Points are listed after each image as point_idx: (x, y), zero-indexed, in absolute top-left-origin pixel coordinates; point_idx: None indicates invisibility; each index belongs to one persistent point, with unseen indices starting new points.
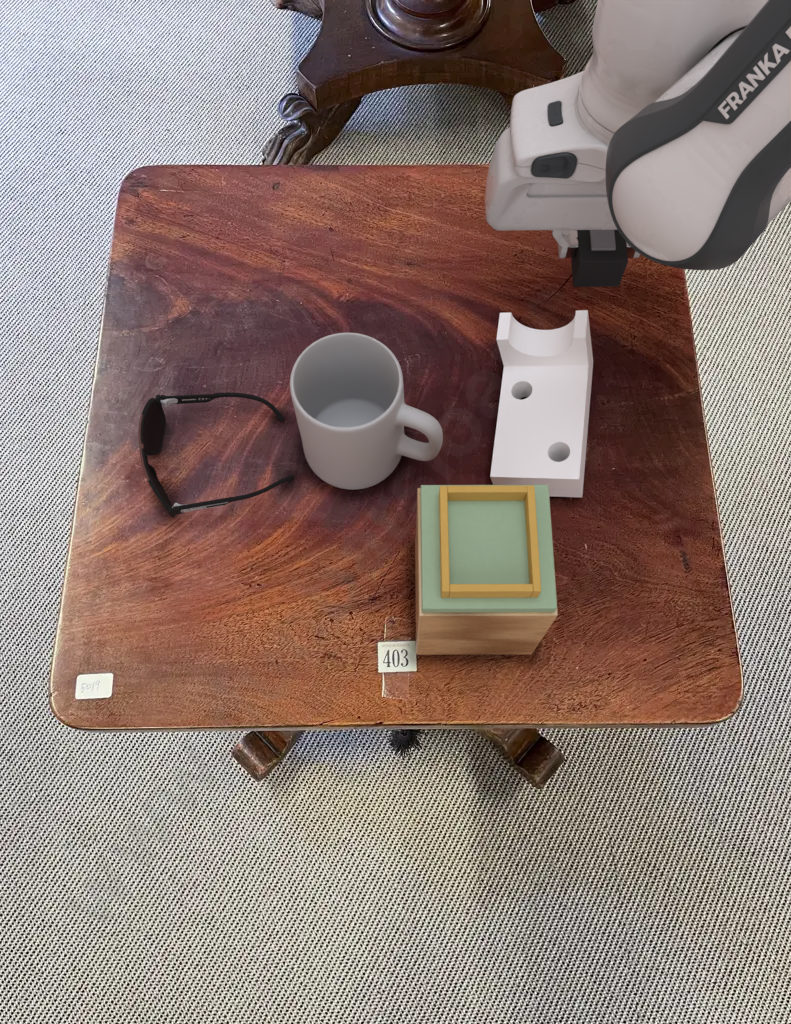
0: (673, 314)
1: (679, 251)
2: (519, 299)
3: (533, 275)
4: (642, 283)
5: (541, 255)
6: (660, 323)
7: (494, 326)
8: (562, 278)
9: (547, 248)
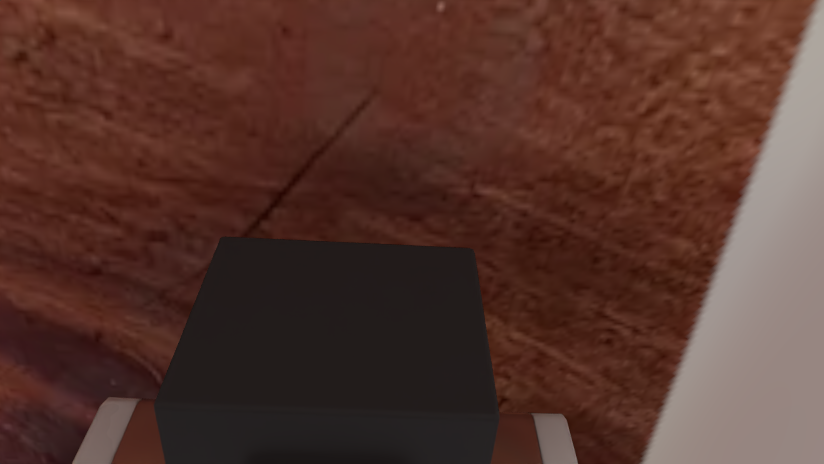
0: (663, 337)
1: None
2: (84, 268)
3: (128, 168)
4: (594, 220)
5: (154, 64)
6: (605, 363)
7: (9, 359)
8: (259, 186)
9: (181, 23)
